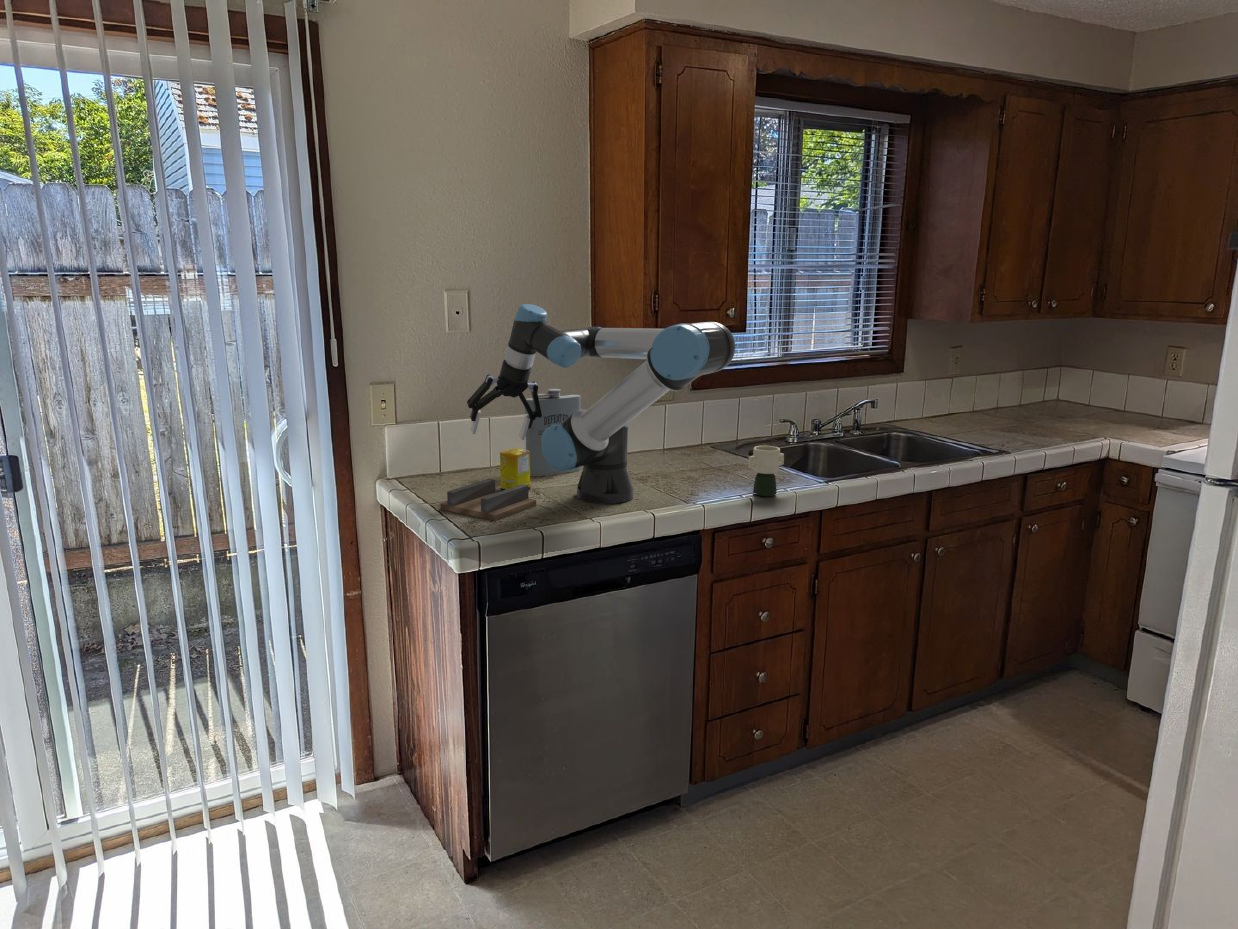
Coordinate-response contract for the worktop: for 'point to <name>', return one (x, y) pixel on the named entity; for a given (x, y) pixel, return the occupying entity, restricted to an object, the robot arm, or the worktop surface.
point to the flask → (552, 413)
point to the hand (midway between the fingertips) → (497, 434)
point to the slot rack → (487, 500)
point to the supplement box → (514, 468)
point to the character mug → (765, 468)
